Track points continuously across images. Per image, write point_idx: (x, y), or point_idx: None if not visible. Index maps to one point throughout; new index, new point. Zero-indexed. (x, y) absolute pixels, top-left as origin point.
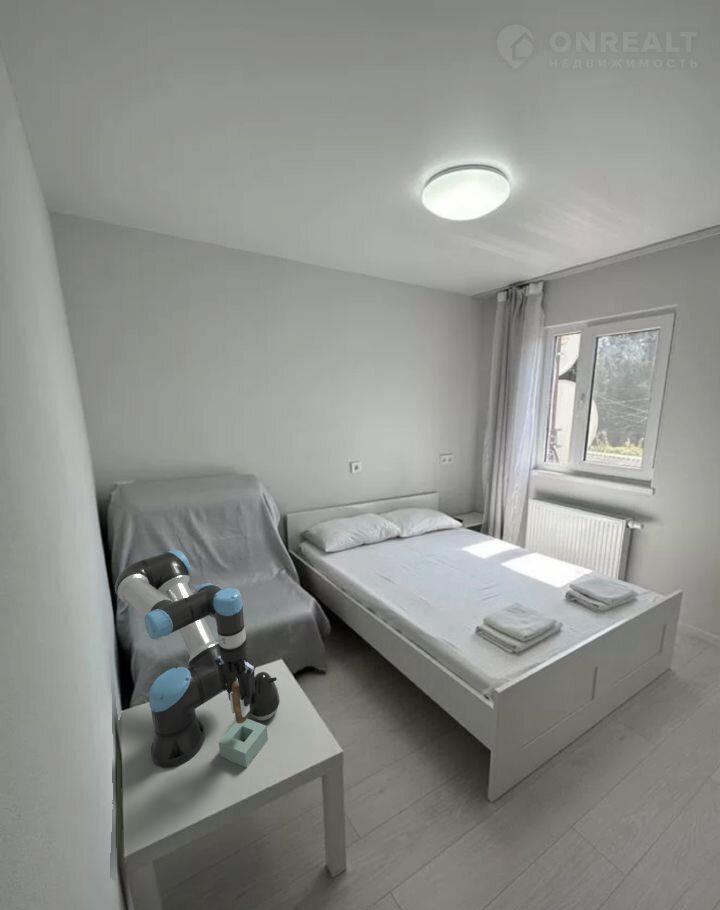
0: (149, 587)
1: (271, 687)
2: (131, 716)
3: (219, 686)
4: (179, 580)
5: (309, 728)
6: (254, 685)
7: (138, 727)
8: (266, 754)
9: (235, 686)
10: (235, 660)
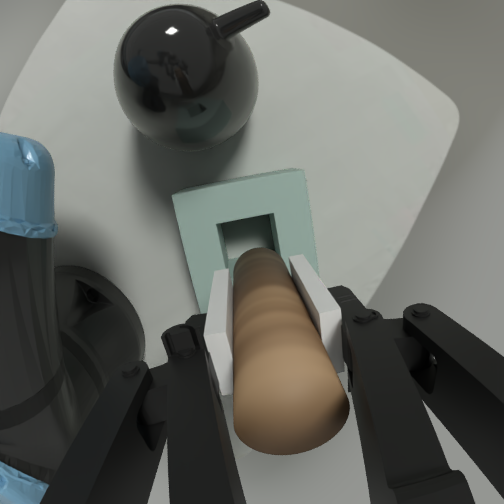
0: None
1: (241, 46)
2: None
3: (42, 292)
4: None
5: (376, 72)
6: (473, 339)
7: None
8: (327, 209)
9: (301, 440)
10: None
